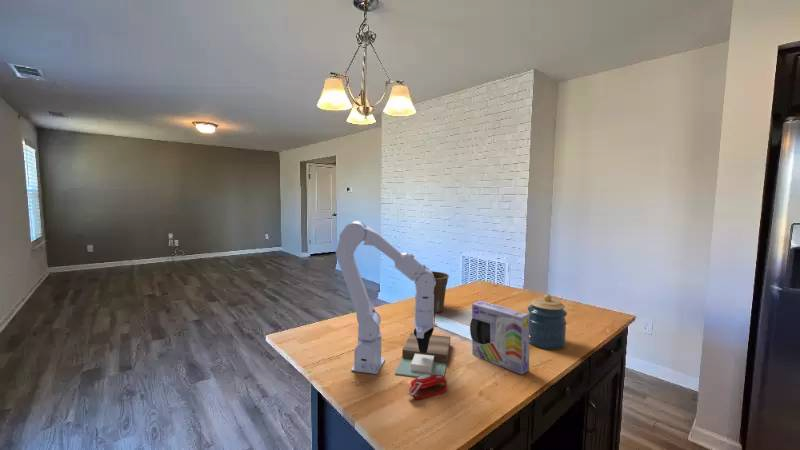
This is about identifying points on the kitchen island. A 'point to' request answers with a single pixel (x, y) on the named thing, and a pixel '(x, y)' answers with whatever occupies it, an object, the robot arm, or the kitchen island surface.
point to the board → (436, 348)
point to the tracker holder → (426, 385)
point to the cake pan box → (500, 336)
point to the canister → (547, 323)
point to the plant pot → (439, 290)
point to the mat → (405, 370)
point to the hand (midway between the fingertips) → (423, 351)
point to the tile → (422, 363)
